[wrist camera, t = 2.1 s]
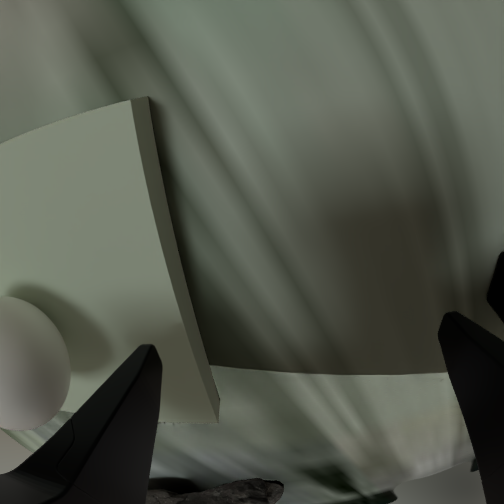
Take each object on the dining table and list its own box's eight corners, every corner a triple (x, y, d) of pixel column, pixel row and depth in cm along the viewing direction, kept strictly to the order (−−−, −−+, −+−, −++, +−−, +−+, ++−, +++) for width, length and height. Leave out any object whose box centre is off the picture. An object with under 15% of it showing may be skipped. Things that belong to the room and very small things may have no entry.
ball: (56, 265, 9) (-21, 374, 5) (107, 365, 12) (72, 468, 8) (-24, 273, 10) (-89, 352, 5) (25, 358, 12) (-15, 438, 8)
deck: (147, 96, 8) (130, 99, 7) (219, 399, 15) (218, 423, 14) (-103, 202, 9) (-119, 213, 8) (-13, 375, 16) (-21, 390, 15)
